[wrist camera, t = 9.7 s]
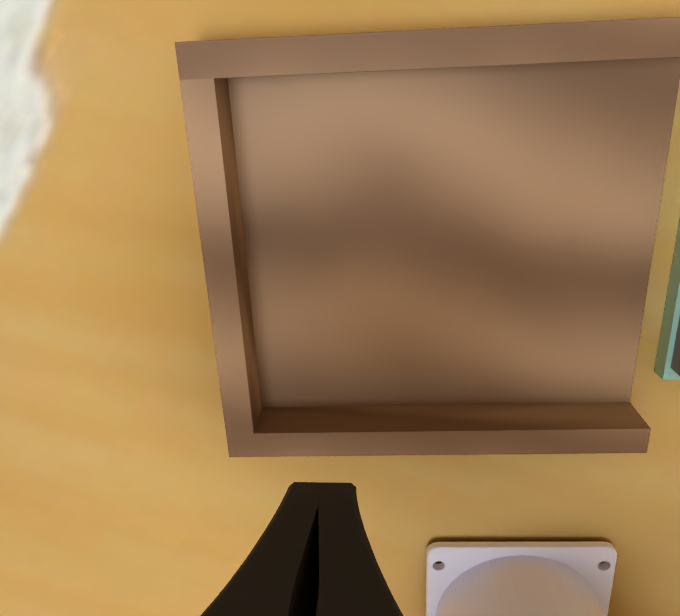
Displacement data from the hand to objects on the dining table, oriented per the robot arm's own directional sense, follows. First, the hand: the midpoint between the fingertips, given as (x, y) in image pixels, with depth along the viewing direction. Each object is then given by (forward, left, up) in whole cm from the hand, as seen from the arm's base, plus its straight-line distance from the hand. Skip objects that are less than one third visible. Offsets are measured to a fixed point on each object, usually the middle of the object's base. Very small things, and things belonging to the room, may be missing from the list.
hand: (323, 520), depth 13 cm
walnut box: (+3, -3, -10) cm, 11 cm away
